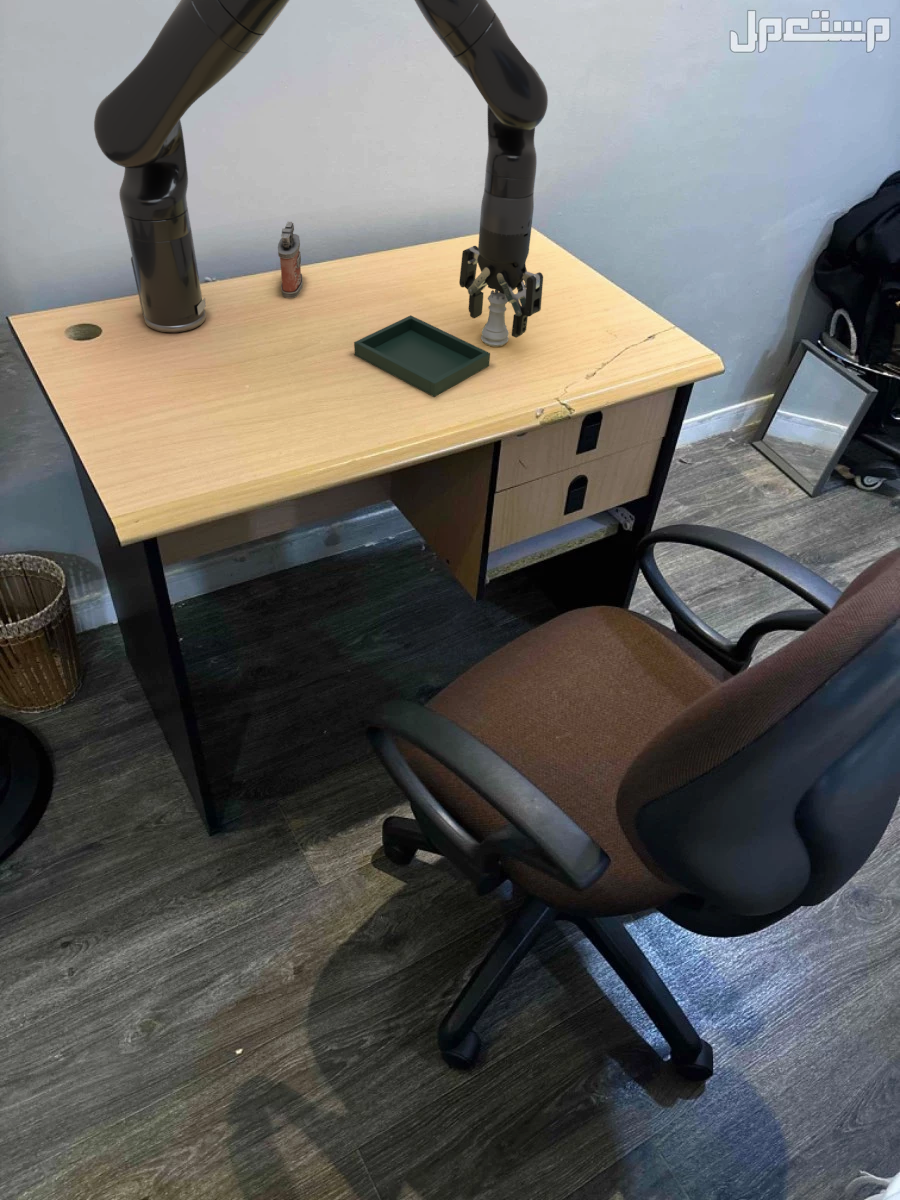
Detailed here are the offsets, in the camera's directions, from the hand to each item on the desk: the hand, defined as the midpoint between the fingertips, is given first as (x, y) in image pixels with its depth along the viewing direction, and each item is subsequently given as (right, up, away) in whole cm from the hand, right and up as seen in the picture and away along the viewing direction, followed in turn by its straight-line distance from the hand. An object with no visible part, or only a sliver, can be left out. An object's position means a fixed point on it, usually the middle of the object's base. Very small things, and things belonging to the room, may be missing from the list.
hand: (496, 325), depth 138 cm
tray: (-12, -6, -4) cm, 14 cm away
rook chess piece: (0, -2, +2) cm, 3 cm away
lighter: (-34, +10, +12) cm, 38 cm away
